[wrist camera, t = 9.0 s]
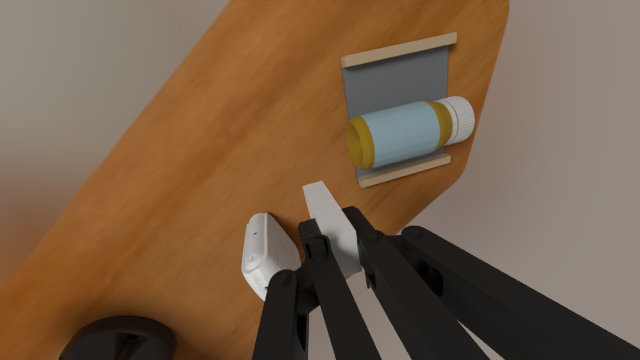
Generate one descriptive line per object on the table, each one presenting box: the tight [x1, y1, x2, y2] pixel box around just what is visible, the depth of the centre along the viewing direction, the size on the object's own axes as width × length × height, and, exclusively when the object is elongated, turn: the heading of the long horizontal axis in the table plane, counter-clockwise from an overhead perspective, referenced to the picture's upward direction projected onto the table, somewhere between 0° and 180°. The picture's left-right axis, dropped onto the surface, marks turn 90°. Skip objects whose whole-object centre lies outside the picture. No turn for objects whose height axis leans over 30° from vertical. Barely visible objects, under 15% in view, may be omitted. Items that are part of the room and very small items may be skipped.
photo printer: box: [242, 212, 301, 302], centre depth 32 cm, size 10×4×12 cm, turn 29°
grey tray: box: [340, 32, 457, 188], centre depth 33 cm, size 15×18×2 cm
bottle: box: [346, 96, 475, 170], centre depth 31 cm, size 7×7×15 cm
